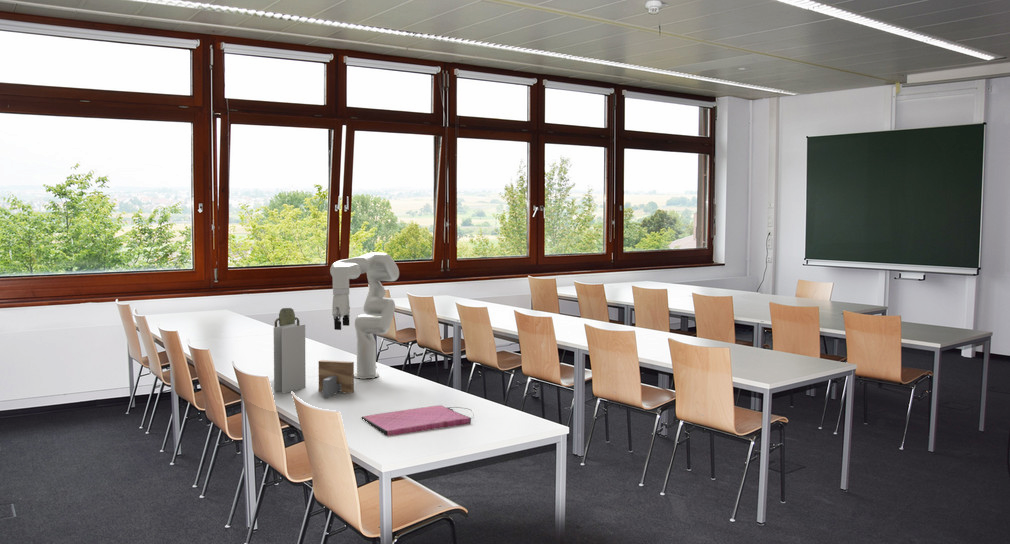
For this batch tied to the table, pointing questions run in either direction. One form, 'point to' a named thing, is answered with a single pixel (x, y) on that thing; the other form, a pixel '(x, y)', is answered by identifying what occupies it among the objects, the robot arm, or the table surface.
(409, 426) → the laptop bag
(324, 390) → the stepped grey block
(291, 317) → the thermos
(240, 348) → the table surface
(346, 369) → the walnut plate
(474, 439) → the table surface
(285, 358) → the tall grey pillar
